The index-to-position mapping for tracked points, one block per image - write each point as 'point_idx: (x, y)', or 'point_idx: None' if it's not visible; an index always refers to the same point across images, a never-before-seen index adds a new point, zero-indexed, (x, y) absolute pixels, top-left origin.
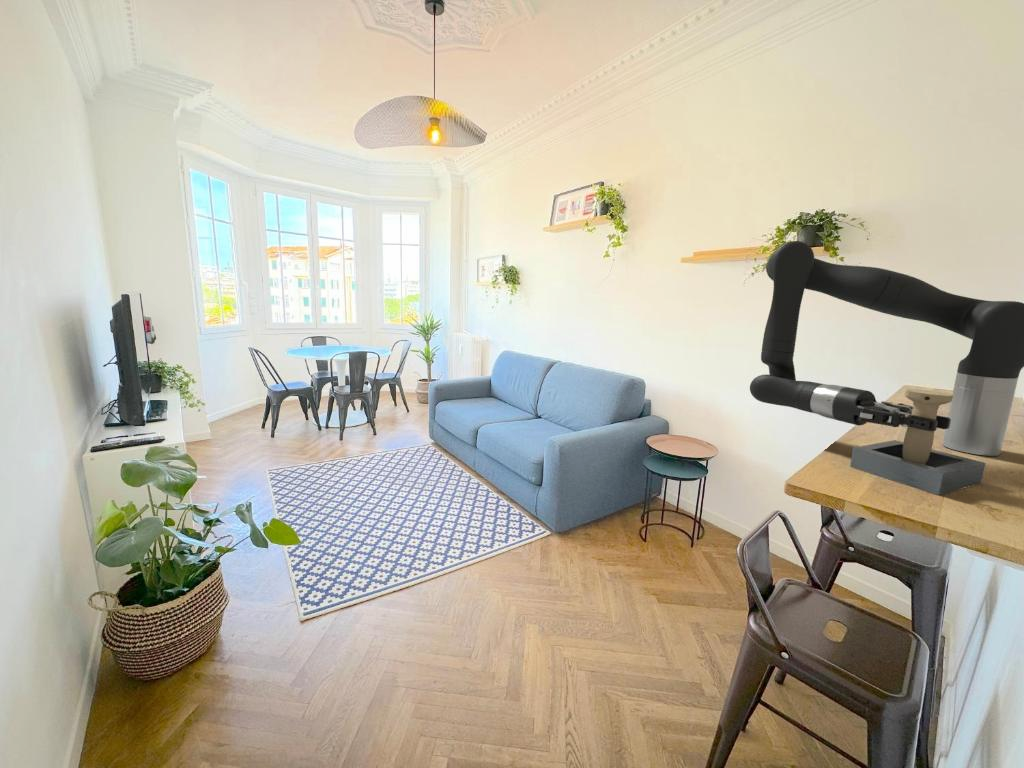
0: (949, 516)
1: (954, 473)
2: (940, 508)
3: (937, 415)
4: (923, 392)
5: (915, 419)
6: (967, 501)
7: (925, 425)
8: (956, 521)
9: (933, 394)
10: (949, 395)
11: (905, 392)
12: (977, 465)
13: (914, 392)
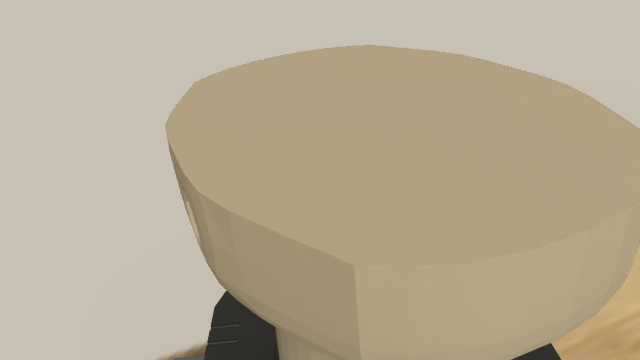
0: (633, 290)
1: None
2: (615, 324)
3: (249, 317)
4: (477, 97)
5: None
6: None
7: None
8: (637, 272)
9: (464, 61)
10: (342, 49)
11: (636, 240)
12: None
13: (607, 117)
